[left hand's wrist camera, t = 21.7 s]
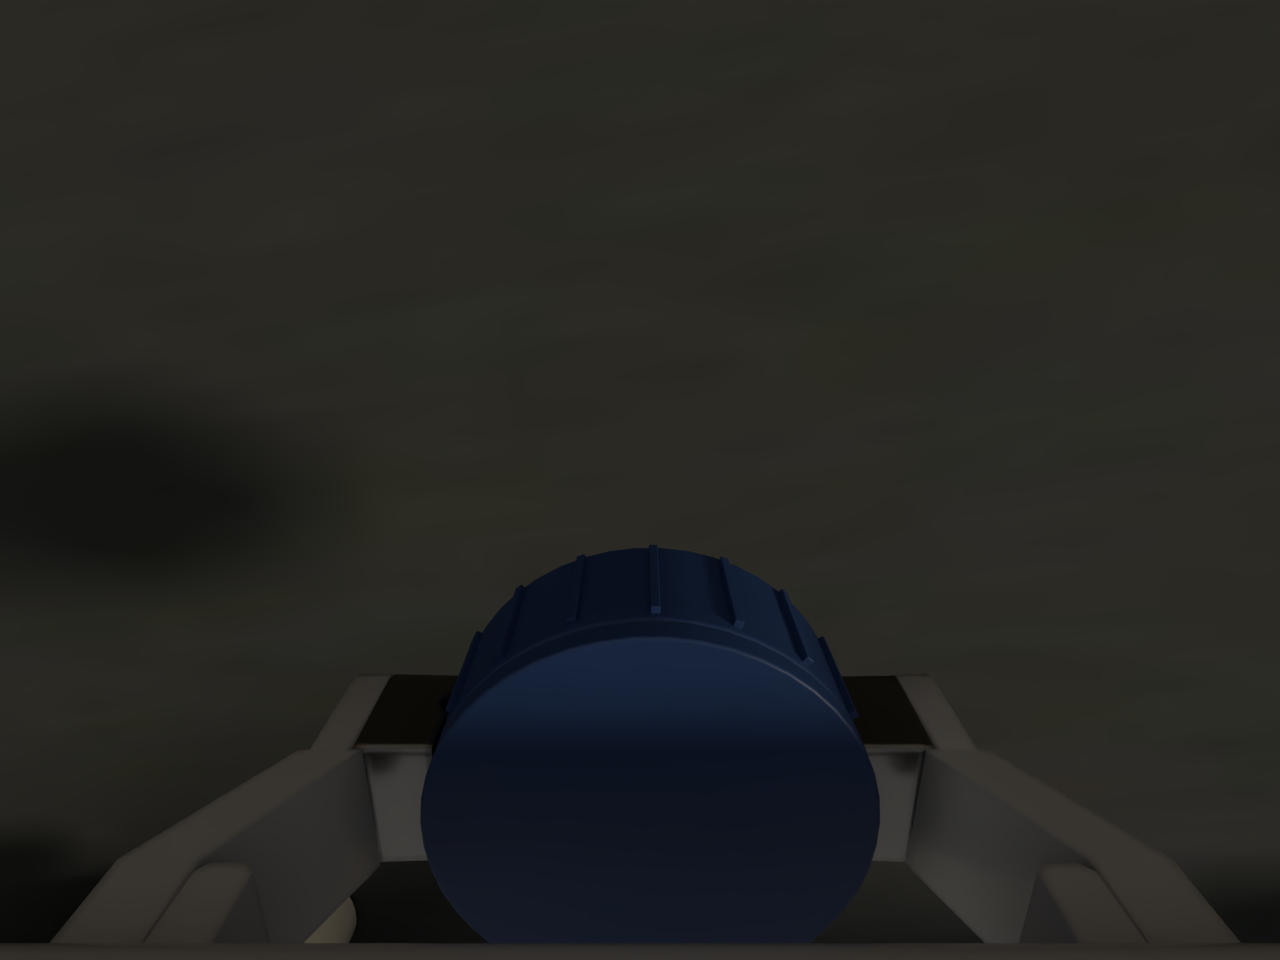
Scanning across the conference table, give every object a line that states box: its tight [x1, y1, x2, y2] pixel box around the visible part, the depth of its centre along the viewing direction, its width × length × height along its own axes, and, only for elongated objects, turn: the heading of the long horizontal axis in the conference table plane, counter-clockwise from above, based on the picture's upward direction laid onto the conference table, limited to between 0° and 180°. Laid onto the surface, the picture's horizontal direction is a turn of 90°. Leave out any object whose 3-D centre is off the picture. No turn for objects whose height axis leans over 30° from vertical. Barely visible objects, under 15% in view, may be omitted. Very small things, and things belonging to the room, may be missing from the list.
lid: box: [420, 545, 880, 943], centre depth 9 cm, size 6×6×2 cm
